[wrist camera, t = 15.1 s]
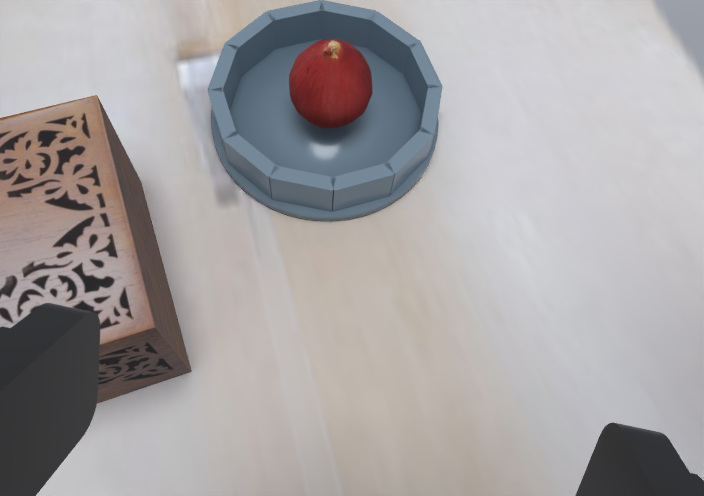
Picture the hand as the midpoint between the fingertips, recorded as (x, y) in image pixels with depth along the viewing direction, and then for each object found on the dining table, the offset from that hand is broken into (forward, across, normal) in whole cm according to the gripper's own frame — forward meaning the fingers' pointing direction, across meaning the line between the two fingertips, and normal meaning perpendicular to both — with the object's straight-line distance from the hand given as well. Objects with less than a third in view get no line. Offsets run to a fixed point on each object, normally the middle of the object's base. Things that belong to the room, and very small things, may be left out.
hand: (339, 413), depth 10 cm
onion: (+38, +5, +2) cm, 38 cm away
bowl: (+38, +5, +2) cm, 39 cm away
